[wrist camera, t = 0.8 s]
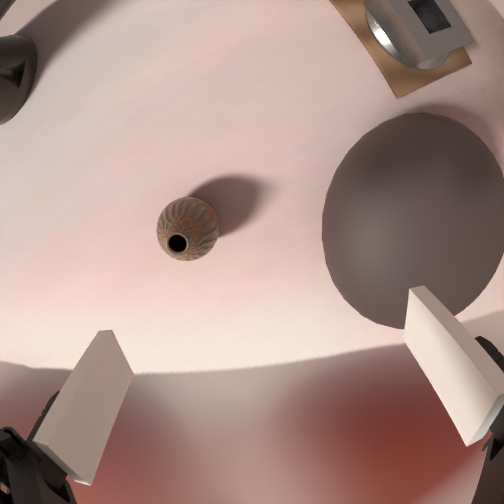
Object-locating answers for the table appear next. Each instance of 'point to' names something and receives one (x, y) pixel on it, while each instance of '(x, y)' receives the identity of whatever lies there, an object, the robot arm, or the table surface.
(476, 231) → the smooth stone
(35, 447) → the robot arm
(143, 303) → the table surface
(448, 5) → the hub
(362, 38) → the walnut board
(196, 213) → the vase
